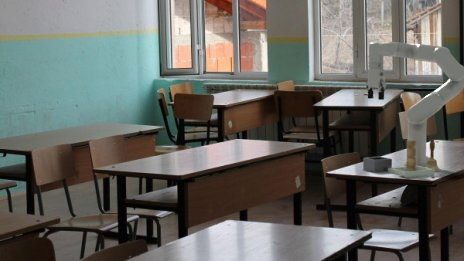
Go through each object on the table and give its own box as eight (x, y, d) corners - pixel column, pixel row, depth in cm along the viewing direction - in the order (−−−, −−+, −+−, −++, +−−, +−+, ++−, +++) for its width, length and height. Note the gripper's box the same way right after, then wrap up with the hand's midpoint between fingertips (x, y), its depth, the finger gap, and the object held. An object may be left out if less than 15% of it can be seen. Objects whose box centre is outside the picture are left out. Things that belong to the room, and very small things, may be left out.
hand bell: (421, 169, 439) (421, 138, 437) (437, 169, 440) (437, 137, 438) (426, 172, 431) (426, 140, 429) (442, 171, 431) (443, 139, 430)
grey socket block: (380, 170, 438) (380, 156, 437) (391, 173, 429) (391, 158, 428) (363, 171, 434) (363, 157, 433) (374, 174, 425) (374, 160, 424)
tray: (416, 171, 433) (416, 165, 432) (434, 175, 420) (434, 169, 420) (388, 174, 425) (388, 168, 425) (405, 178, 413) (405, 171, 413)
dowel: (412, 172, 426) (412, 140, 424) (417, 173, 422) (417, 140, 420) (404, 173, 424) (404, 140, 422) (410, 174, 420) (410, 141, 418)
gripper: (391, 66, 447) (391, 99, 449) (372, 65, 463) (372, 97, 465) (379, 66, 444) (379, 100, 446) (360, 65, 460) (360, 98, 462)
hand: (375, 99), depth 455 cm, fingers open, 9 cm apart
